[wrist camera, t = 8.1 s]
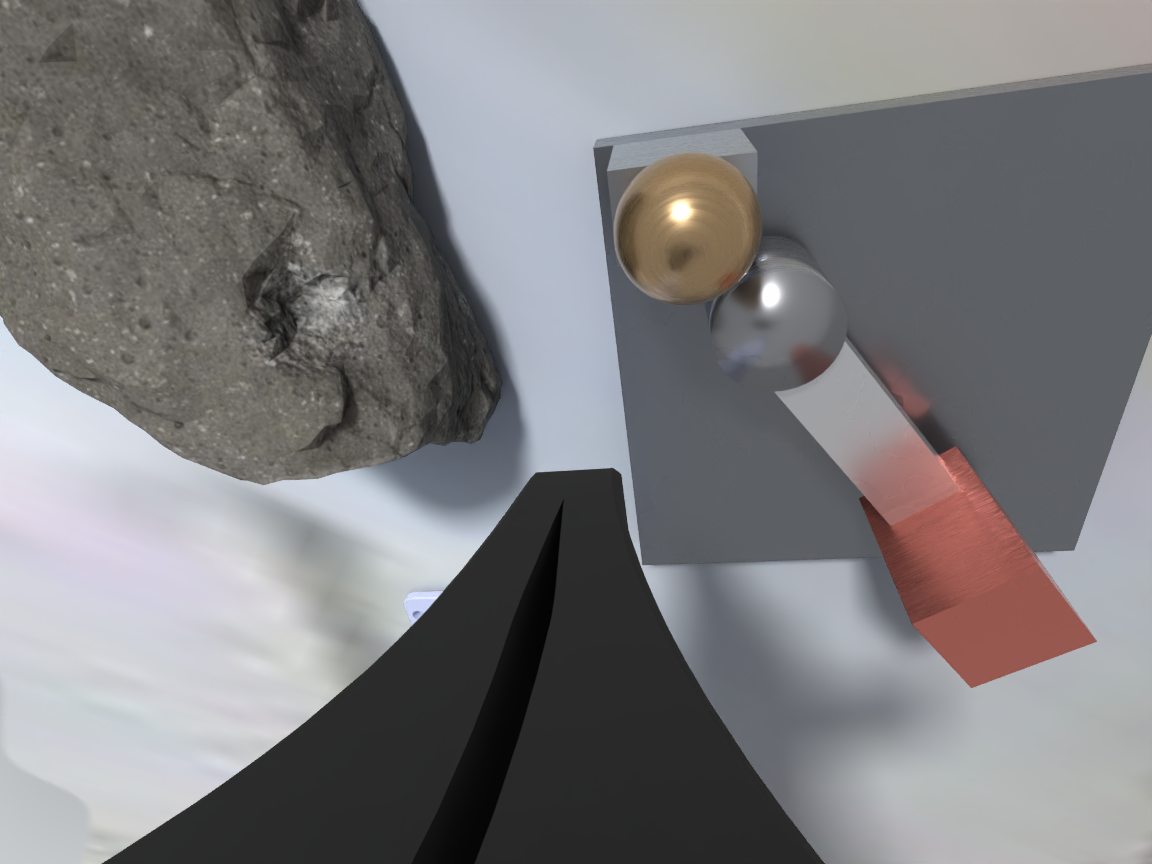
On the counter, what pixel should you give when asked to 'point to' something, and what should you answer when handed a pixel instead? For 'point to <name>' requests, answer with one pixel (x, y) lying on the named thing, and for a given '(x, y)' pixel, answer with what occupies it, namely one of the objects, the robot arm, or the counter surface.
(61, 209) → the stone
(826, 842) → the counter surface
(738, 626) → the counter surface
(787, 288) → the lever
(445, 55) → the counter surface
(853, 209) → the base
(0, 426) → the counter surface
